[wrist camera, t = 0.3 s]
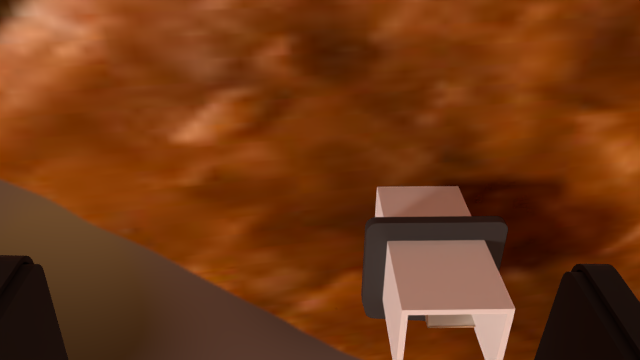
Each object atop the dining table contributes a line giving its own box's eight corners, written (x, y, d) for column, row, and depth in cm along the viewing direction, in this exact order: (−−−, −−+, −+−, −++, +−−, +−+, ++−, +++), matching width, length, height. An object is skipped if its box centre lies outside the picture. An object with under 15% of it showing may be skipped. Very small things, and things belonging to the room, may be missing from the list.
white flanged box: (286, 310, 60) (281, 453, 46) (279, 97, 48) (269, 205, 34) (519, 307, 61) (583, 447, 47) (572, 96, 48) (682, 202, 34)
